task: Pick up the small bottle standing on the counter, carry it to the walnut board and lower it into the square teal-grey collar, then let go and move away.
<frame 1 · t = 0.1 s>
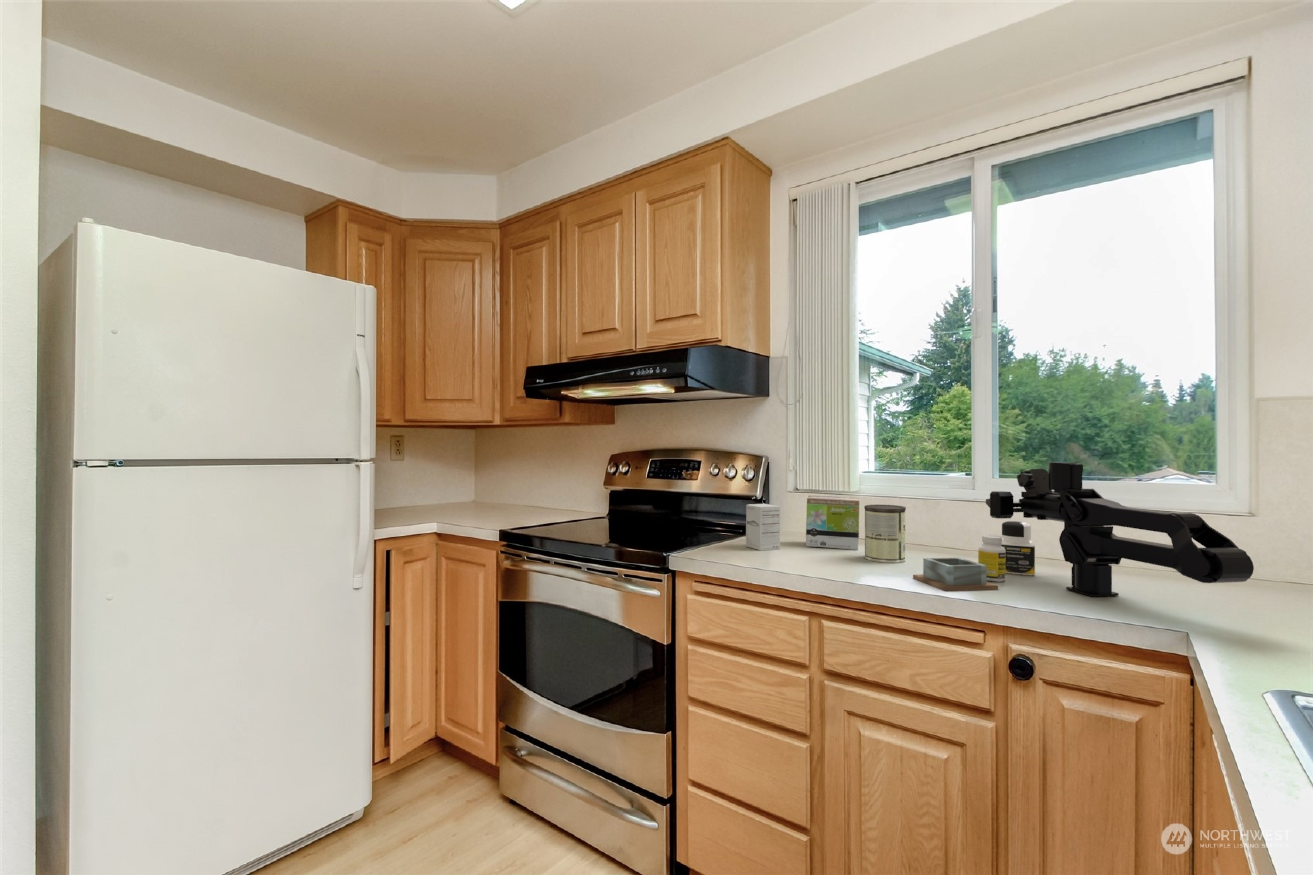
hand: (1003, 501, 148), 17 cm above the table, tool horizontal, fingers open, 9 cm apart
tea box: (832, 547, 178), on the table
socket board: (953, 583, 131), on the table
medicine bottle: (1016, 572, 144), on the table
coffee can: (884, 560, 158), on the table
supplement box: (762, 548, 174), on the table
supplement bottle: (991, 580, 135), on the table
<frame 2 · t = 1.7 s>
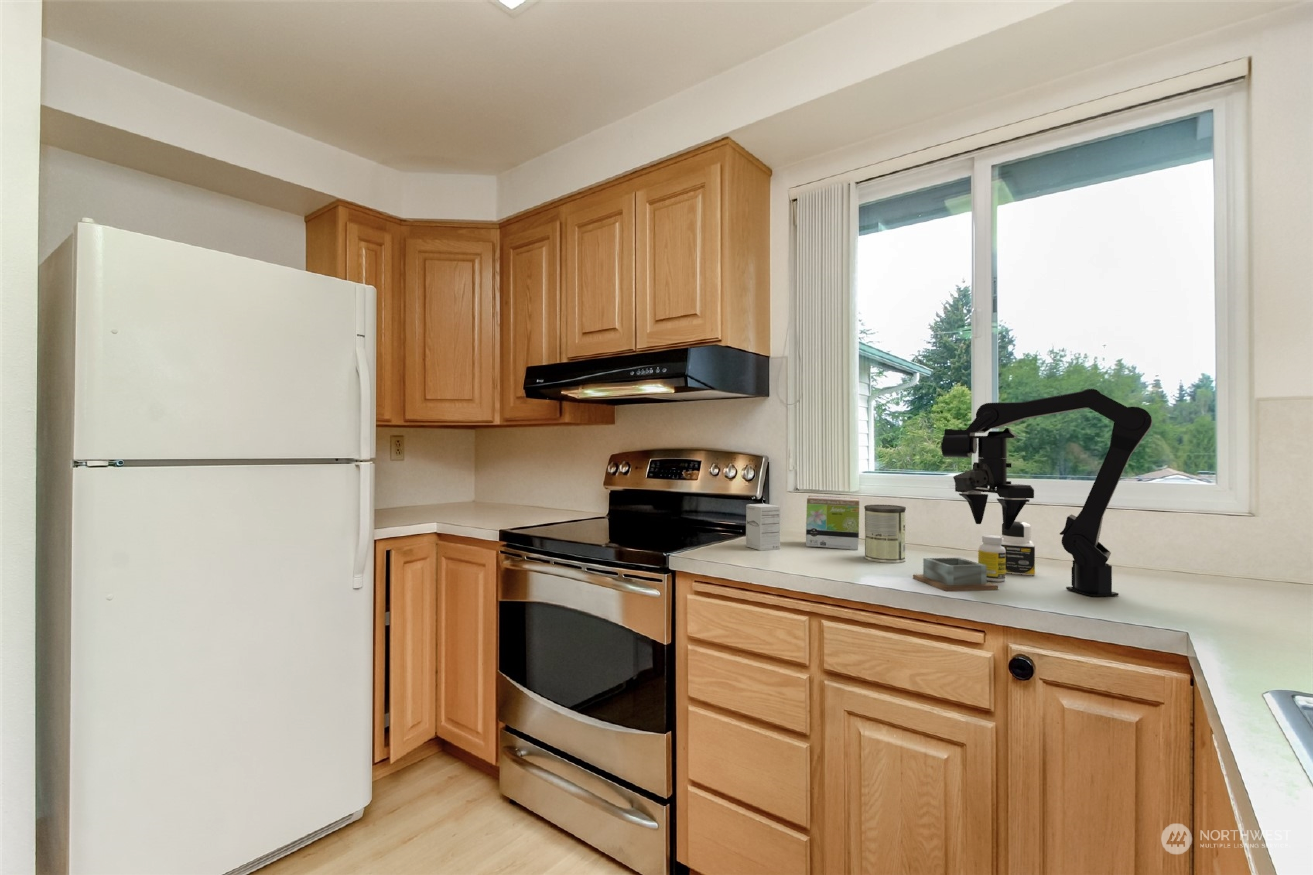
hand: (992, 526, 135), 12 cm above the table, tool pointing down, fingers open, 9 cm apart
nothing on the table moved.
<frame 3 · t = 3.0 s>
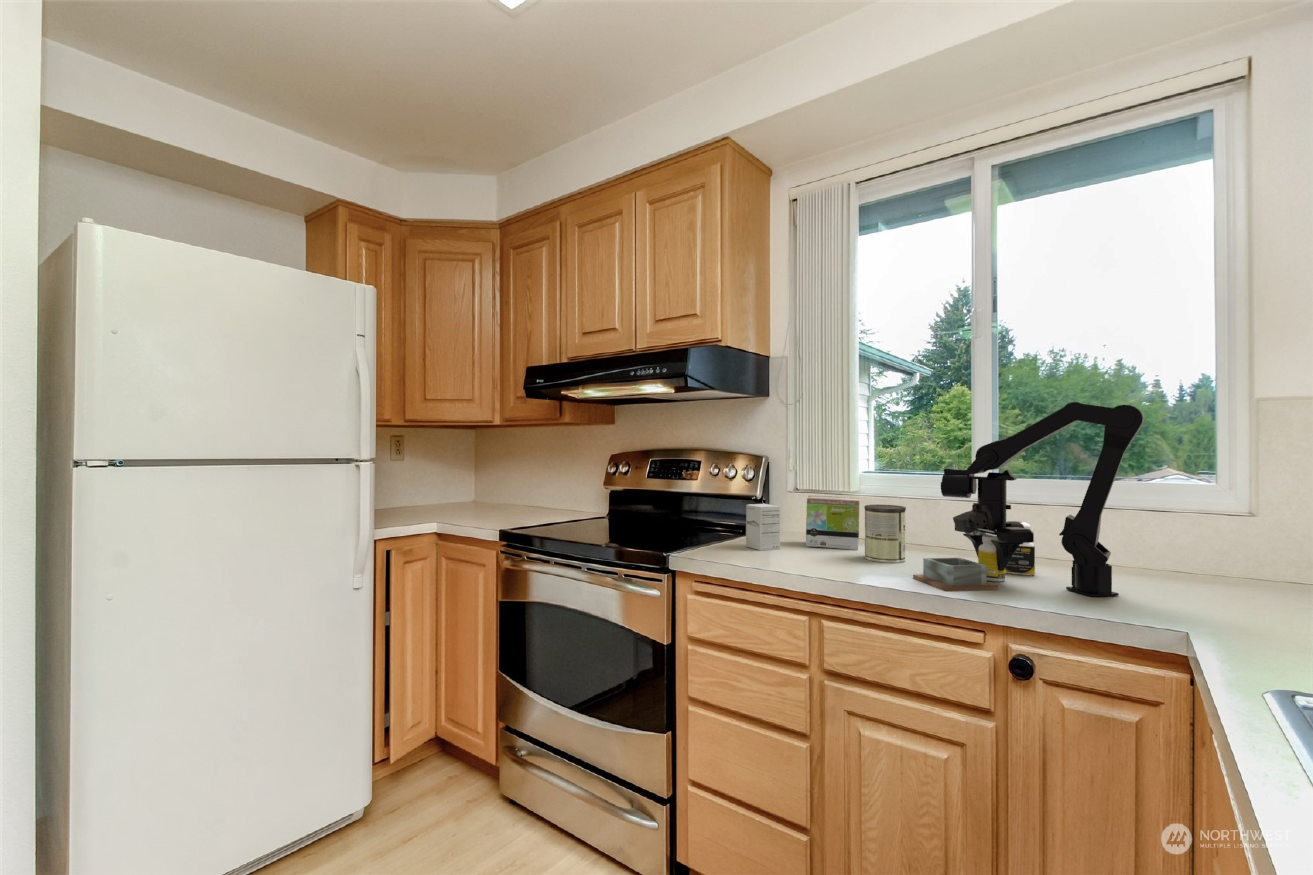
hand: (991, 568, 135), 3 cm above the table, tool pointing down, fingers closed on supplement bottle, 5 cm apart
supplement bottle: (991, 580, 135), on the table, touching gripper
everything else where it was.
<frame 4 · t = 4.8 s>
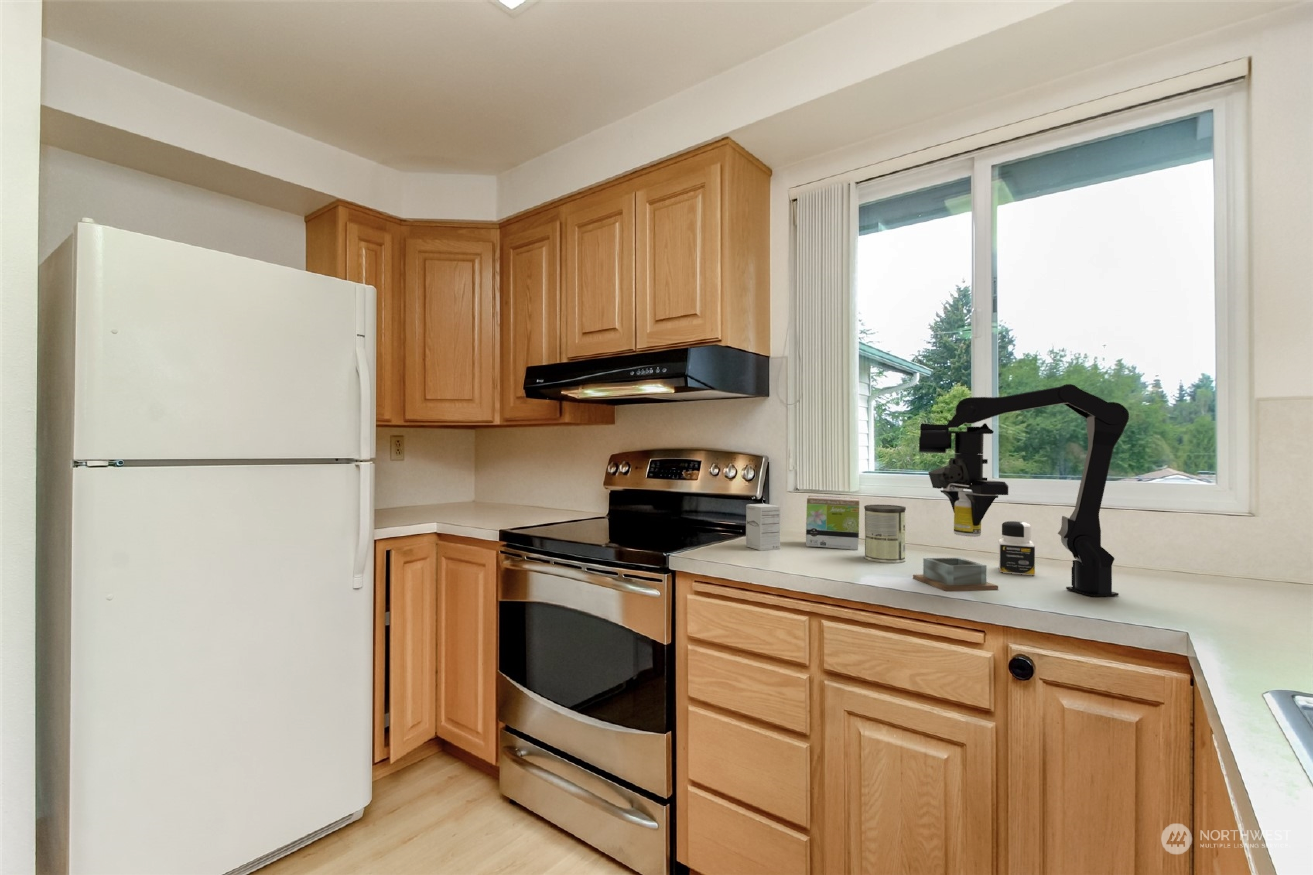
hand: (967, 523, 133), 13 cm above the table, tool pointing down, fingers closed on supplement bottle, 5 cm apart
supplement bottle: (967, 536, 133), point 10 cm above the table, touching gripper
everything else where it was.
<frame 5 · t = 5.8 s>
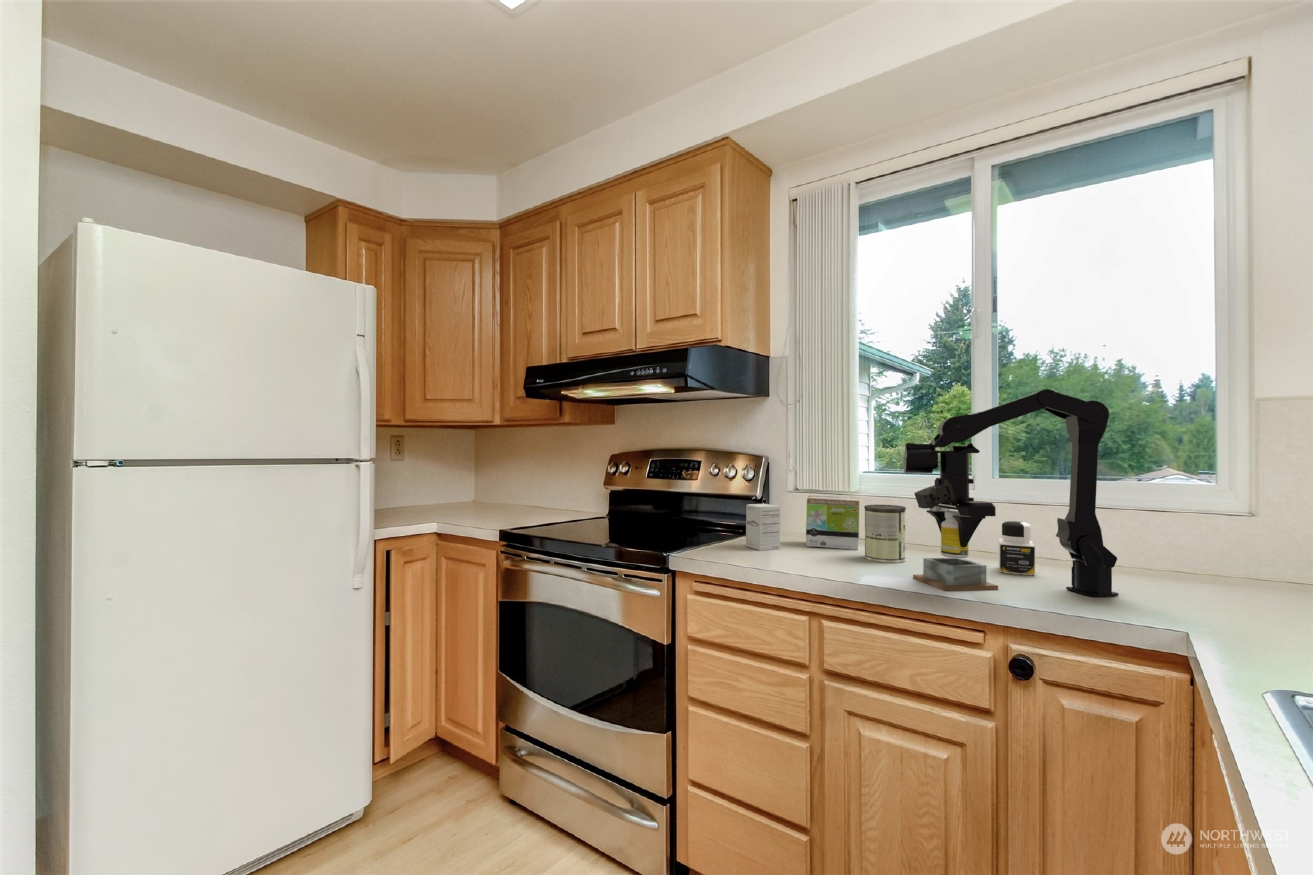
hand: (954, 544, 131), 9 cm above the table, tool pointing down, fingers closed on supplement bottle, 5 cm apart
supplement bottle: (954, 557, 131), point 6 cm above the table, touching gripper
everything else where it was.
when the fingers open (6 cm above the table, at t = 6.7 s): supplement bottle drops 2 cm, resting on socket board.
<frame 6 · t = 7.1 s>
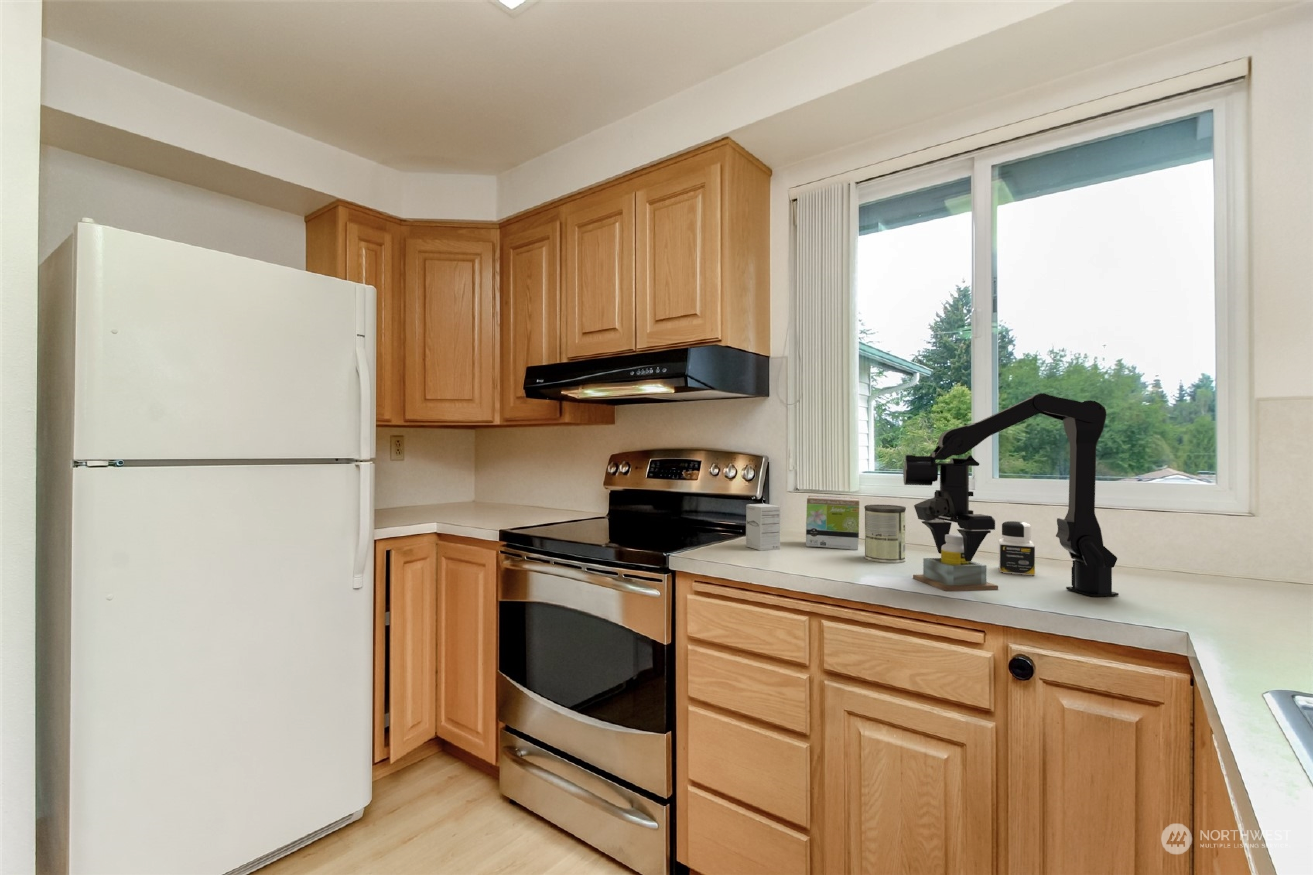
hand: (954, 557, 131), 6 cm above the table, tool pointing down, fingers open, 9 cm apart
supplement bottle: (954, 580, 131), point 1 cm above the table, touching socket board
everything else where it was.
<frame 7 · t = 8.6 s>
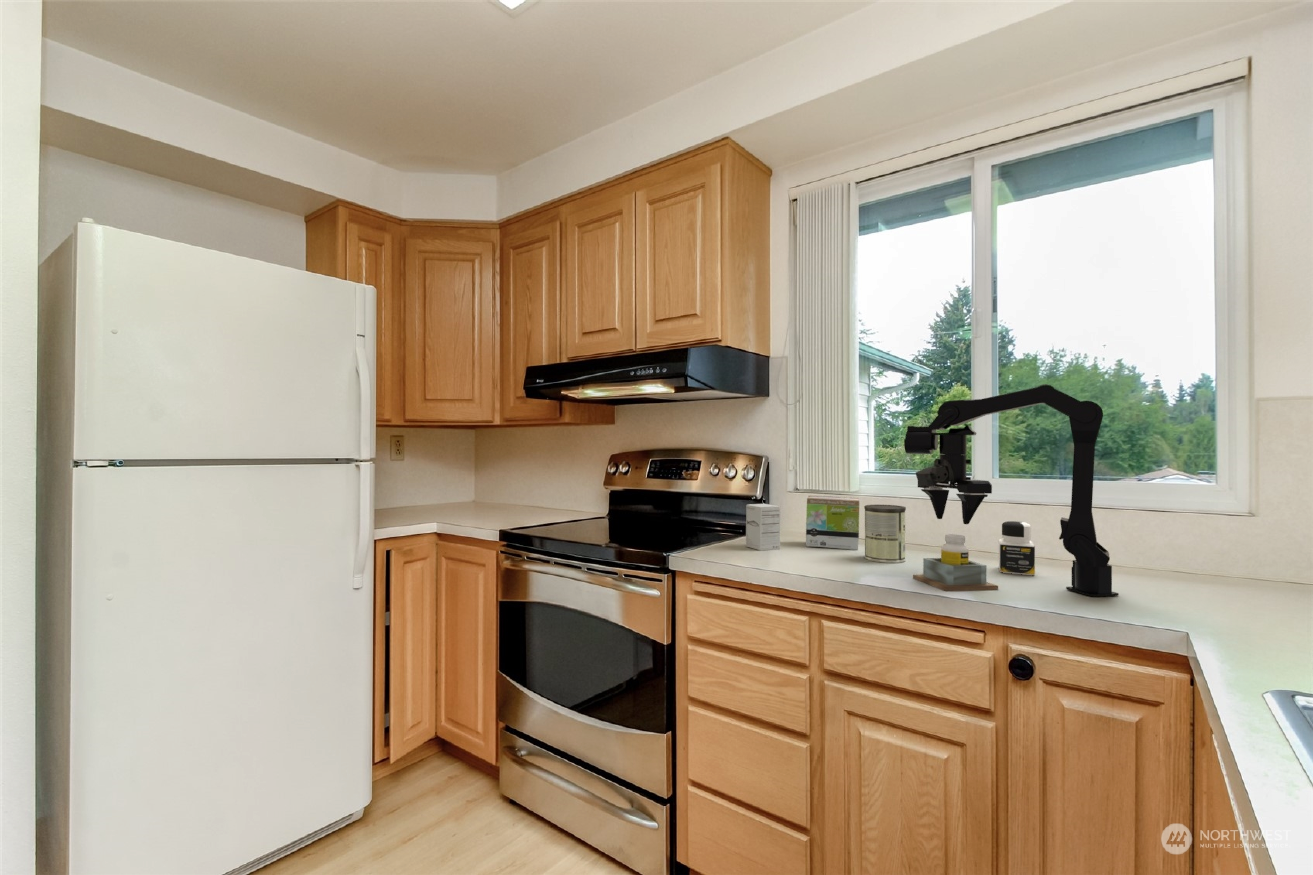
hand: (952, 521, 139), 13 cm above the table, tool pointing down, fingers open, 9 cm apart
nothing on the table moved.
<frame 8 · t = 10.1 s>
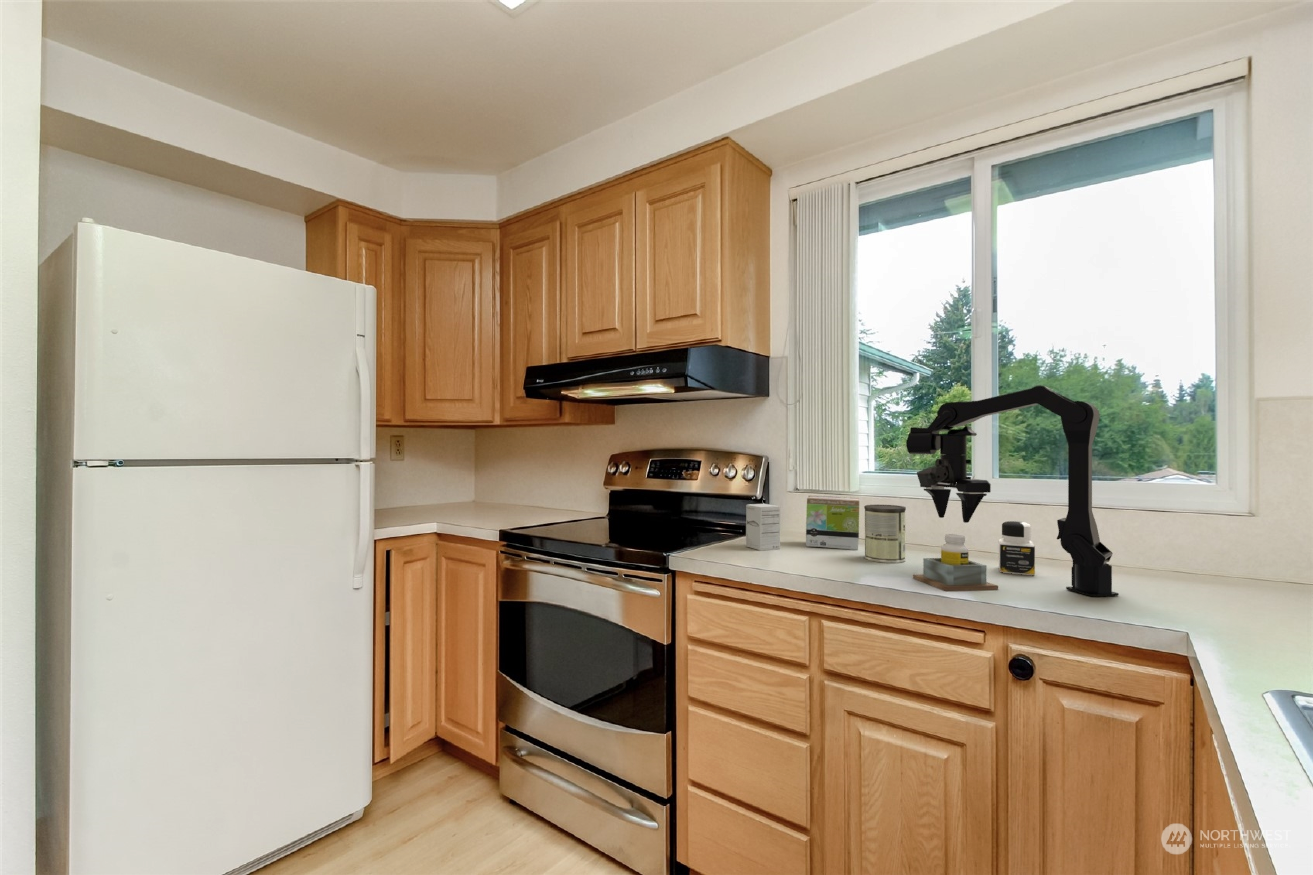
hand: (953, 519, 143), 12 cm above the table, tool pointing down, fingers open, 9 cm apart
nothing on the table moved.
at the end: supplement bottle 0.1 cm off-centre on the socket board, point 0.6 cm above the socket board's base; supplement bottle tilted 0°; the gripper is holding nothing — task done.
